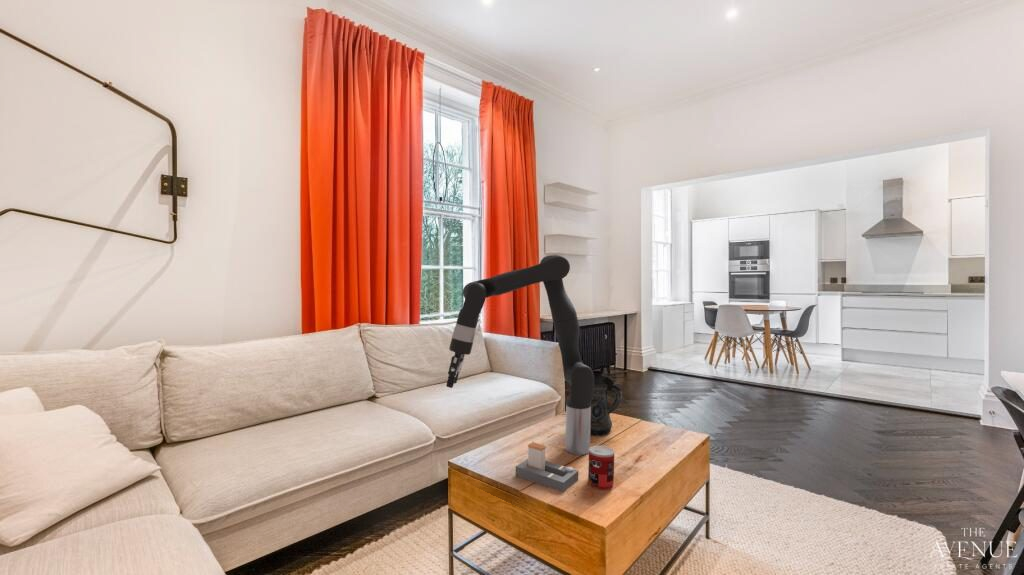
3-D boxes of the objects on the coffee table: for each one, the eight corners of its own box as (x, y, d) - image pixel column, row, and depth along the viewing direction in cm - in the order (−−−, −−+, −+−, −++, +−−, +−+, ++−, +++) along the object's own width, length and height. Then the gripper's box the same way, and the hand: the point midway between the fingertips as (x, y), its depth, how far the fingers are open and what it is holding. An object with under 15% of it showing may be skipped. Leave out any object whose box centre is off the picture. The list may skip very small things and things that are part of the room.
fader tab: (532, 469, 147) (532, 442, 146) (545, 473, 144) (545, 445, 143) (527, 472, 144) (528, 444, 144) (540, 477, 141) (541, 448, 141)
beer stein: (569, 422, 194) (571, 367, 193) (612, 422, 195) (613, 367, 194) (577, 436, 178) (579, 376, 177) (623, 436, 179) (625, 376, 178)
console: (532, 464, 151) (532, 454, 151) (578, 479, 140) (578, 469, 140) (515, 475, 143) (515, 464, 143) (563, 492, 132) (563, 481, 132)
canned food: (585, 478, 141) (586, 445, 141) (609, 477, 142) (610, 445, 142) (591, 490, 134) (592, 455, 133) (616, 489, 134) (617, 455, 134)
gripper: (471, 343, 141) (459, 391, 140) (475, 340, 155) (464, 384, 154) (449, 337, 141) (436, 386, 140) (455, 335, 155) (444, 379, 155)
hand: (451, 384), depth 147 cm, fingers open, 8 cm apart
